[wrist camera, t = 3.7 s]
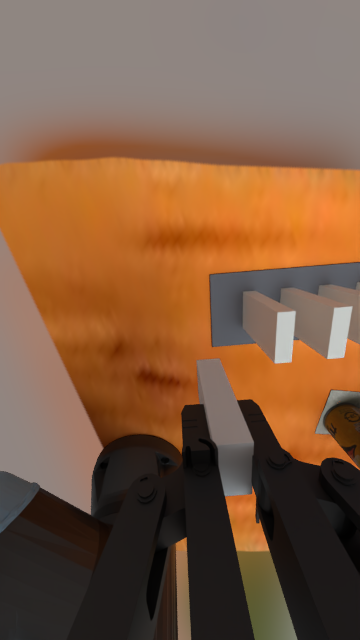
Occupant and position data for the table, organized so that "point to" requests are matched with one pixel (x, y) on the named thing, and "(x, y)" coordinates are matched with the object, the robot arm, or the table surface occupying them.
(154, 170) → the table surface
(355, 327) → the domino
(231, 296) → the mat
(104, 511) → the robot arm
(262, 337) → the domino
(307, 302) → the domino
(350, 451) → the condiment
